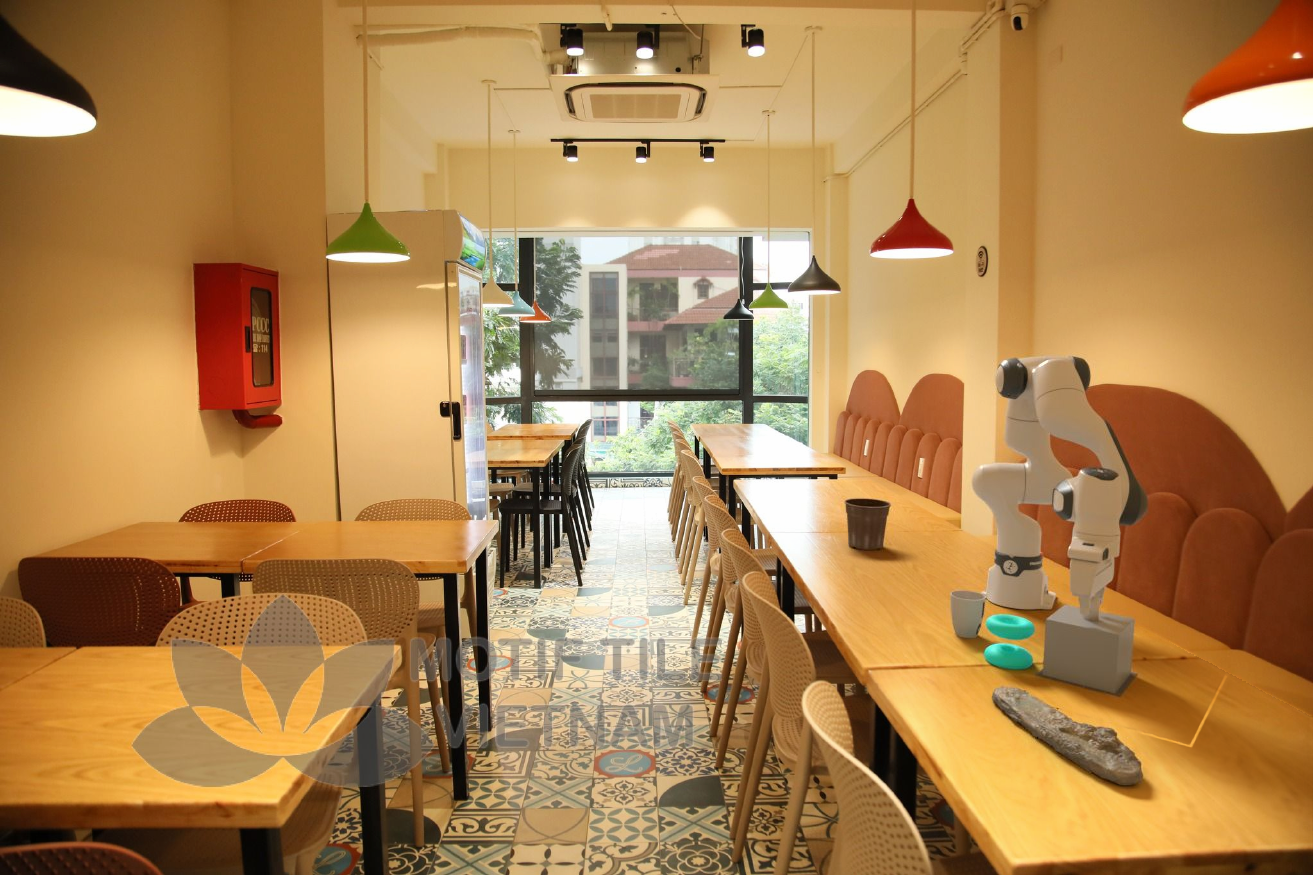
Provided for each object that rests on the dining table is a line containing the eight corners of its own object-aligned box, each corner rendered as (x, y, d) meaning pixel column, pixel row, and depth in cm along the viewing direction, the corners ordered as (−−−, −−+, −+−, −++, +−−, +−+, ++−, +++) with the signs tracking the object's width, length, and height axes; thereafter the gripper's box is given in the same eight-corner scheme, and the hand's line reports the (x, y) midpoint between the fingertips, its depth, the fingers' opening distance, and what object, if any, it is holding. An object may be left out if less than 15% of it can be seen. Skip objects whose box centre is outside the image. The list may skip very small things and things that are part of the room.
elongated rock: (1022, 703, 162) (977, 709, 160) (1021, 677, 162) (976, 683, 160) (1163, 784, 128) (1109, 793, 126) (1163, 751, 128) (1108, 761, 126)
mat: (1057, 656, 183) (1057, 654, 183) (1137, 675, 173) (1137, 673, 173) (1035, 676, 172) (1035, 675, 172) (1119, 698, 161) (1119, 696, 161)
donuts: (1006, 610, 185) (1045, 623, 176) (1004, 652, 186) (1042, 667, 177) (976, 616, 180) (1014, 630, 172) (974, 659, 181) (1011, 675, 173)
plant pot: (894, 552, 280) (896, 506, 279) (848, 551, 280) (850, 506, 279) (882, 541, 296) (884, 498, 295) (838, 541, 297) (840, 497, 295)
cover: (1061, 657, 182) (1066, 582, 180) (1130, 673, 173) (1136, 595, 171) (1042, 674, 172) (1047, 596, 170) (1115, 693, 162) (1120, 610, 161)
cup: (986, 641, 193) (988, 601, 192) (951, 639, 194) (953, 598, 193) (980, 630, 201) (982, 591, 200) (946, 628, 202) (947, 589, 201)
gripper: (1092, 535, 179) (1088, 595, 180) (1065, 550, 164) (1061, 616, 165) (1124, 539, 175) (1119, 601, 176) (1099, 556, 160) (1095, 623, 161)
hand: (1091, 609), depth 171 cm, fingers open, 8 cm apart
